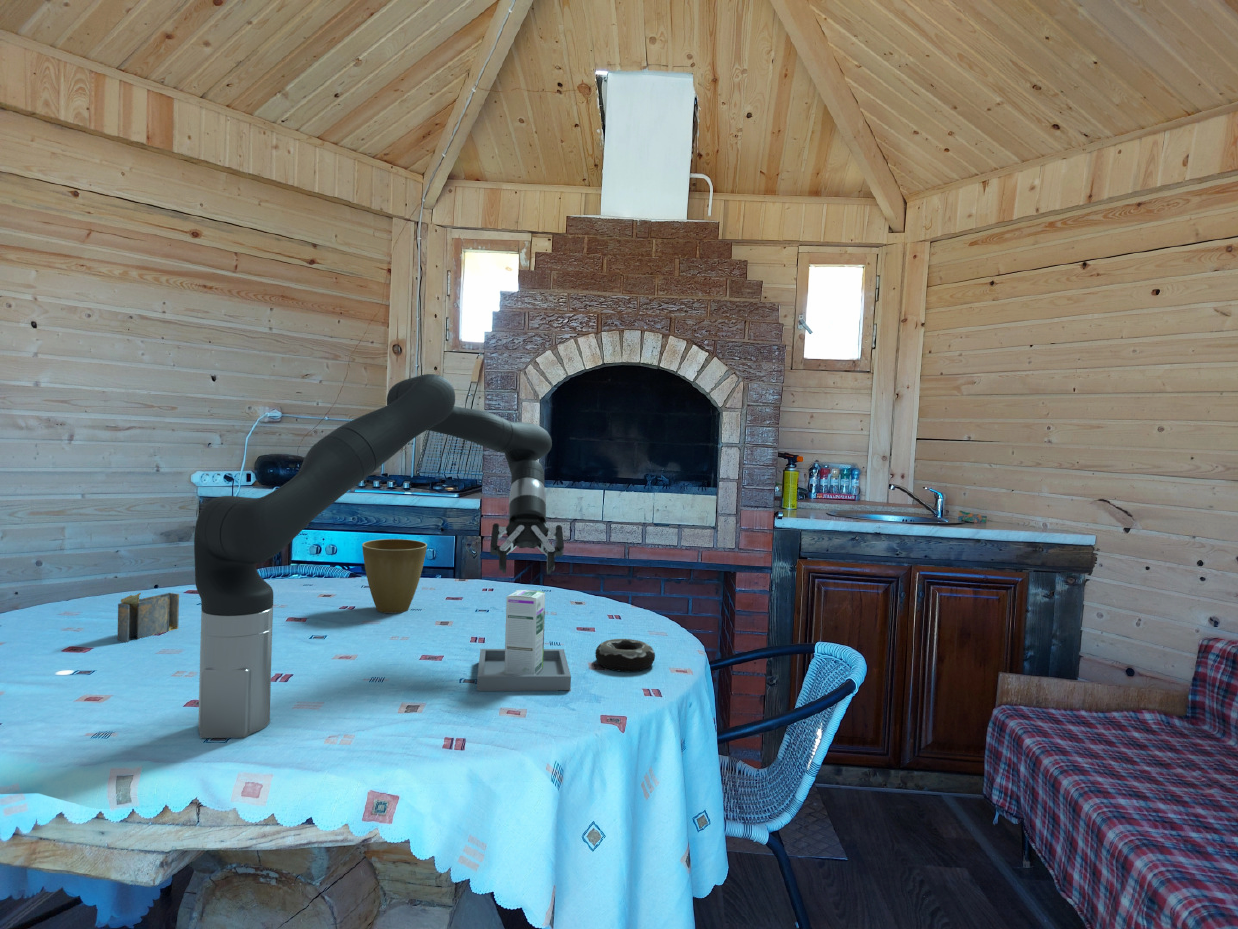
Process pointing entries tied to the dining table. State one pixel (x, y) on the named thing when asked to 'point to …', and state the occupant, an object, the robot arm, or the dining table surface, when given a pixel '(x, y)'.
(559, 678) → the tray
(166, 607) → the weathered flanged block
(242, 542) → the robot arm
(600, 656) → the donut
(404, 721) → the dining table surface
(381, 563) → the plant pot
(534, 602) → the syrup box
